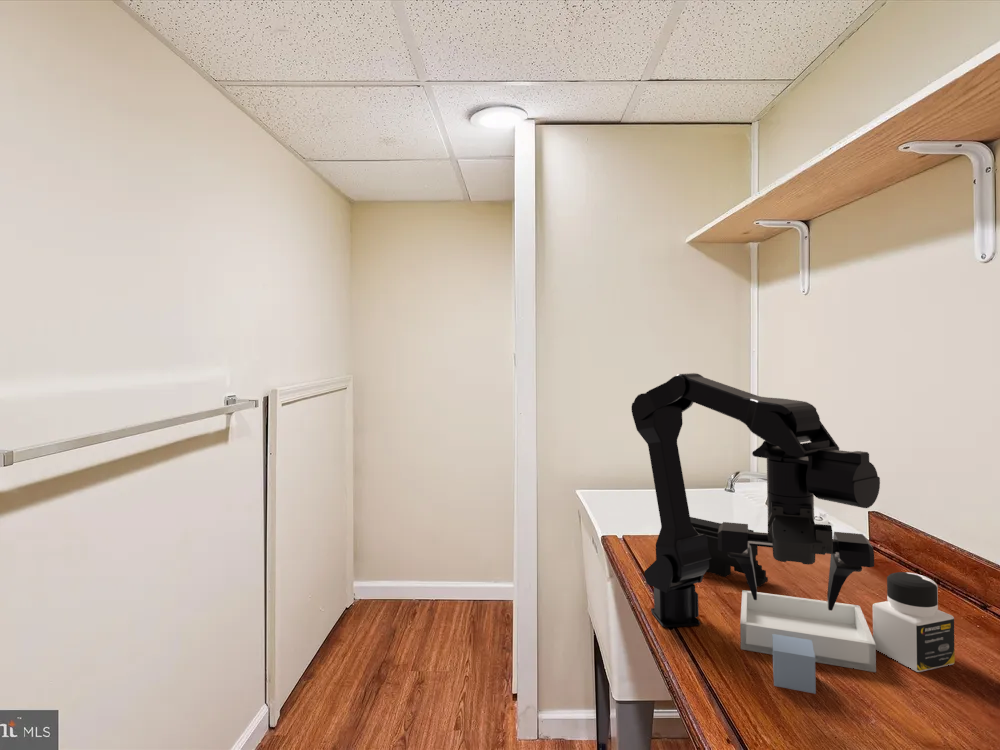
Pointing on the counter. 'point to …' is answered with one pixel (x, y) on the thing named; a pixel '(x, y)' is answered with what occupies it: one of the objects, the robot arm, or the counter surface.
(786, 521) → the robot arm
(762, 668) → the counter surface
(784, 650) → the block
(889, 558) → the counter surface
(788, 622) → the tote
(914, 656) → the medicine bottle
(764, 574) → the security camera
